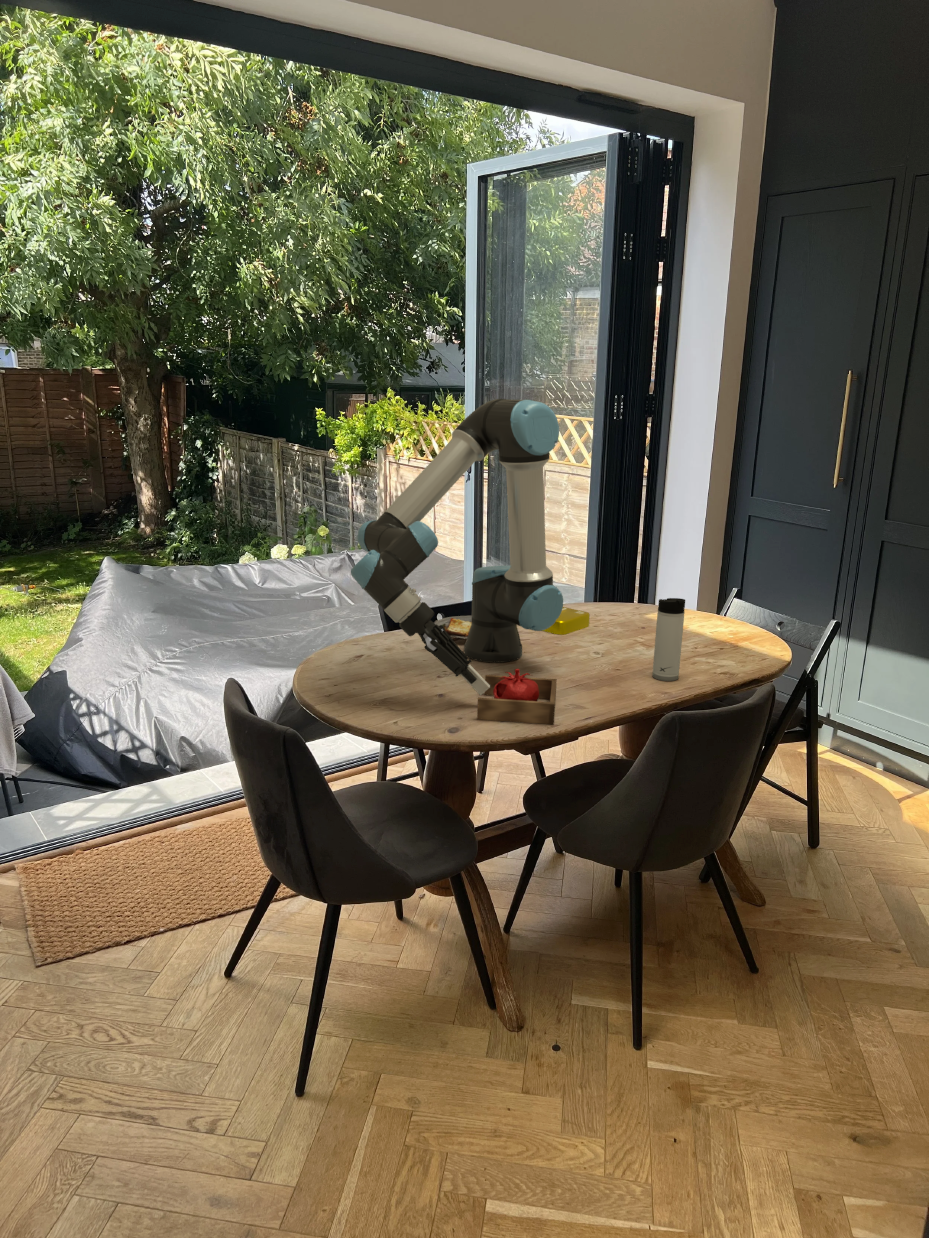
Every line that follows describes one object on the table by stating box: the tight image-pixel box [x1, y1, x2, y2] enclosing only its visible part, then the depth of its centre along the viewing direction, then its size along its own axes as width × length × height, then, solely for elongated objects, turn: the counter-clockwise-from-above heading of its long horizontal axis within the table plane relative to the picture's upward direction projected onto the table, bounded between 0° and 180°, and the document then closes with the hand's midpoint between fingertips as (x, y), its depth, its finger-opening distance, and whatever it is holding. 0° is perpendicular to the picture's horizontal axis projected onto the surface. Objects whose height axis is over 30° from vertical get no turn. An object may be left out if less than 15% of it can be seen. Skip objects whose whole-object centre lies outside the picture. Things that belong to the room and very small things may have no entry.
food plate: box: [433, 615, 472, 640], centre depth 248 cm, size 25×23×4 cm
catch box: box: [476, 674, 557, 725], centre depth 192 cm, size 16×16×4 cm
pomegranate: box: [493, 668, 539, 701], centre depth 191 cm, size 10×10×9 cm
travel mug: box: [651, 597, 686, 682], centre depth 212 cm, size 6×7×20 cm
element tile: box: [541, 606, 591, 636], centre depth 258 cm, size 15×15×5 cm
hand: (485, 690), depth 193 cm, fingers closed
